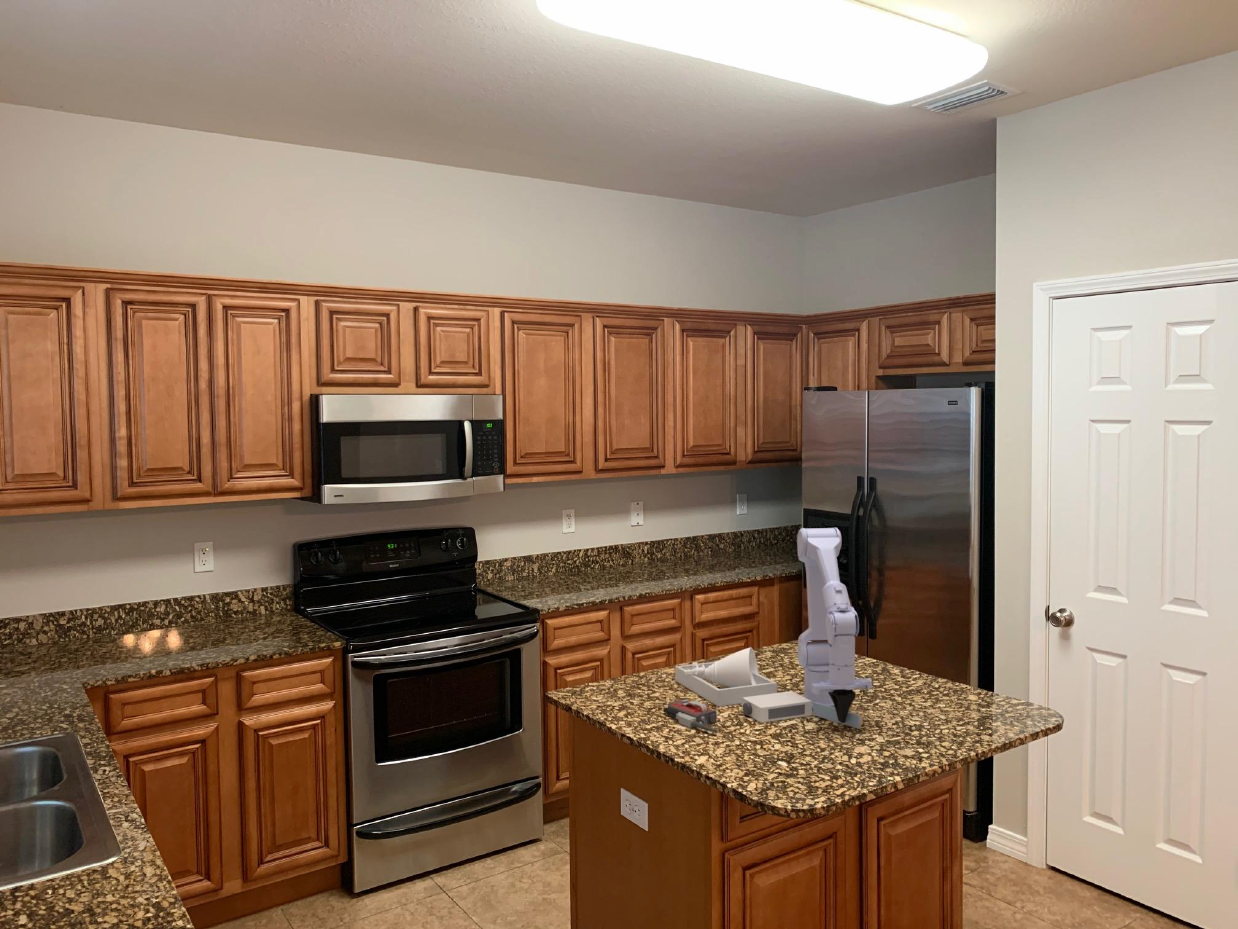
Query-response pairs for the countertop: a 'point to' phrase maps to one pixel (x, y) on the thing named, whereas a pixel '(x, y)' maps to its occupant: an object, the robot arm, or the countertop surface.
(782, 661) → the countertop surface
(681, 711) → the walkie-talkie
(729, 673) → the rocket engine
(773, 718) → the white box with knob
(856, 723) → the side door
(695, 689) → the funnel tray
